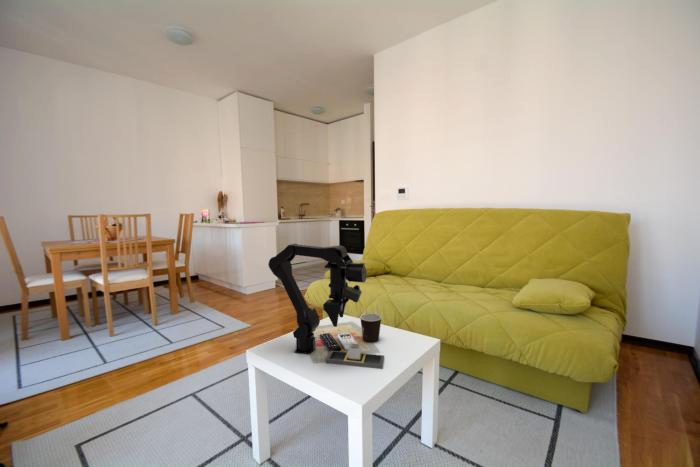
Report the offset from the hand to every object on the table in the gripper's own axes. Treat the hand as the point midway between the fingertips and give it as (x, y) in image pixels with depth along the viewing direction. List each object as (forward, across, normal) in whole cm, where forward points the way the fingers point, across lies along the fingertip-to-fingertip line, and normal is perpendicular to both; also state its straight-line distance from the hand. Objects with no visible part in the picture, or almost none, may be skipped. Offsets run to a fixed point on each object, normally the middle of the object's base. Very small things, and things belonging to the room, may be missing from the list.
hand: (338, 321), depth 109 cm
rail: (+13, -4, -7) cm, 15 cm away
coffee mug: (+13, +16, -10) cm, 23 cm away
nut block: (+12, -4, -7) cm, 15 cm away
